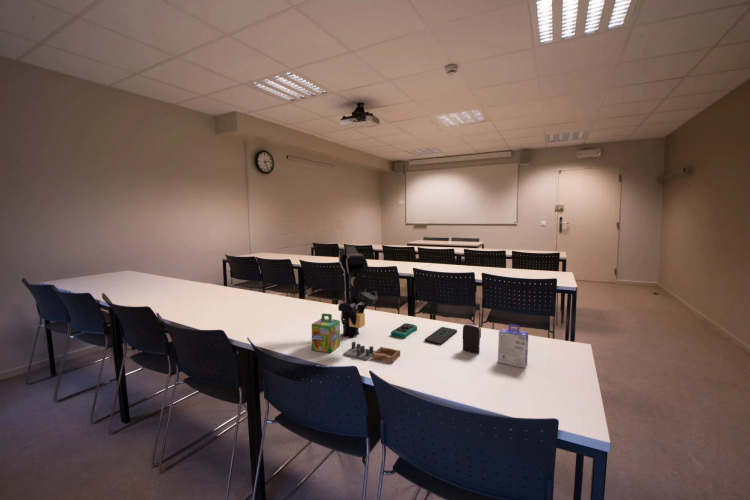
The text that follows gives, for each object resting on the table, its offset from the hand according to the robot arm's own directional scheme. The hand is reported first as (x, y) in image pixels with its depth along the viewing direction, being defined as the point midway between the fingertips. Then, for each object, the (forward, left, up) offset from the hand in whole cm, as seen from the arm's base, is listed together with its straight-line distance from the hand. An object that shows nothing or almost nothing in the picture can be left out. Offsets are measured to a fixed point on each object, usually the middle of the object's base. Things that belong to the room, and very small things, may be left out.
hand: (356, 323), depth 133 cm
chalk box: (-14, -2, -13) cm, 19 cm away
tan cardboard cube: (0, 0, -1) cm, 1 cm away
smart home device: (+26, +32, -13) cm, 44 cm away
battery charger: (+42, +22, -13) cm, 49 cm away
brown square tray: (+13, +1, -12) cm, 18 cm away
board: (+2, -1, -12) cm, 13 cm away
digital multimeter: (+9, +29, -13) cm, 33 cm away
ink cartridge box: (+58, +18, -13) cm, 62 cm away
